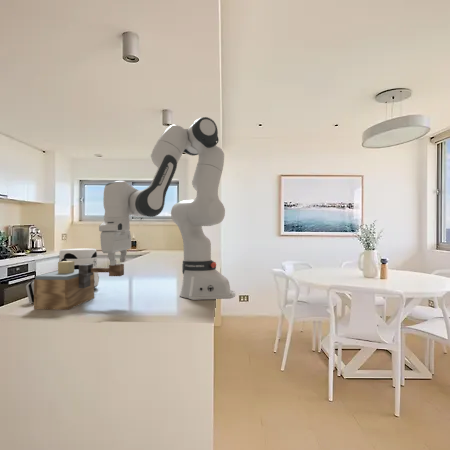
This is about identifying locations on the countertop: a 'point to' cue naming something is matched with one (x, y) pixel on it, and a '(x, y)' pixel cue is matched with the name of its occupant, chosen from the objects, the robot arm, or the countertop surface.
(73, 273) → the lid
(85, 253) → the milk container
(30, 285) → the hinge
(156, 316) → the countertop surface
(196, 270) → the robot arm
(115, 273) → the wooden mallet
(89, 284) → the box
